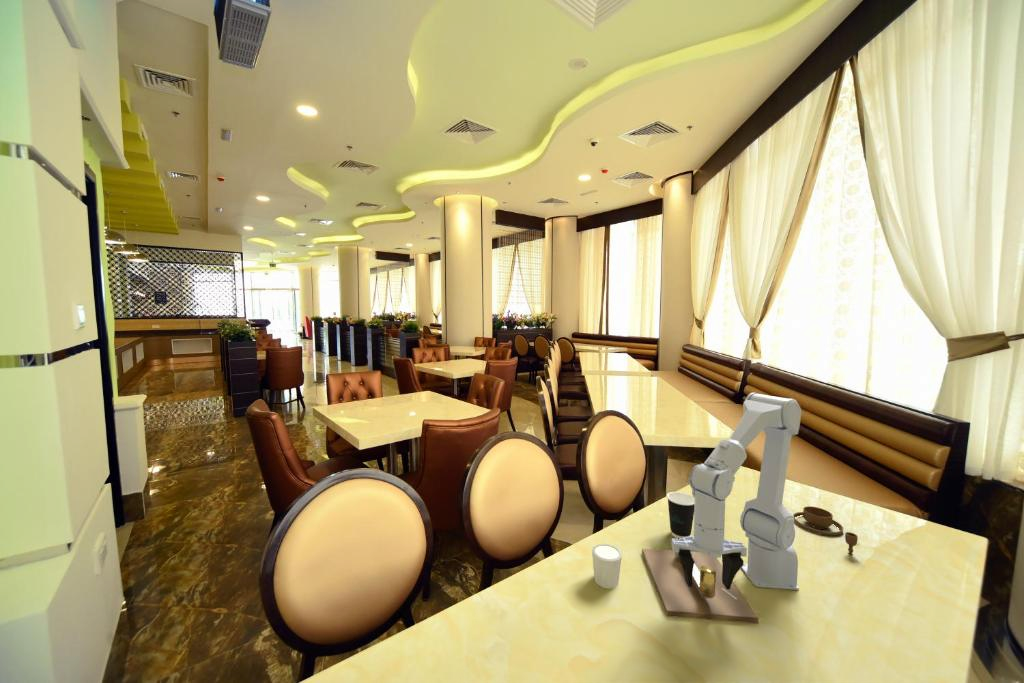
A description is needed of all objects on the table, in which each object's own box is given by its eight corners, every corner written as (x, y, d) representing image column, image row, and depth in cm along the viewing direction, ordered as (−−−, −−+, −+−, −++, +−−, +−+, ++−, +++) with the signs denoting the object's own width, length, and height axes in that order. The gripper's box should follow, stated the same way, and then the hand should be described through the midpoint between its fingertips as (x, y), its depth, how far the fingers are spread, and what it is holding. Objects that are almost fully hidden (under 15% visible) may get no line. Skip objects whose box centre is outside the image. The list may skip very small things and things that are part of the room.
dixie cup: (691, 529, 114) (692, 492, 113) (699, 544, 106) (700, 505, 105) (663, 526, 115) (664, 490, 114) (668, 541, 107) (669, 502, 107)
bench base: (713, 557, 100) (713, 552, 100) (758, 623, 78) (758, 617, 78) (642, 552, 102) (642, 548, 102) (667, 616, 80) (667, 610, 80)
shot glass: (622, 592, 87) (623, 562, 87) (591, 588, 88) (592, 558, 88) (620, 572, 94) (620, 545, 93) (591, 569, 95) (591, 541, 95)
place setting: (855, 529, 115) (856, 510, 114) (860, 561, 99) (861, 539, 99) (784, 510, 126) (784, 493, 125) (778, 537, 110) (779, 517, 110)
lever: (687, 555, 98) (688, 528, 98) (718, 608, 80) (719, 575, 80) (673, 554, 99) (673, 527, 98) (700, 606, 81) (701, 574, 80)
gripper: (679, 531, 78) (678, 595, 78) (755, 535, 76) (753, 601, 77) (669, 513, 85) (667, 573, 85) (738, 517, 83) (736, 577, 84)
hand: (707, 584), depth 82 cm, fingers open, 7 cm apart
